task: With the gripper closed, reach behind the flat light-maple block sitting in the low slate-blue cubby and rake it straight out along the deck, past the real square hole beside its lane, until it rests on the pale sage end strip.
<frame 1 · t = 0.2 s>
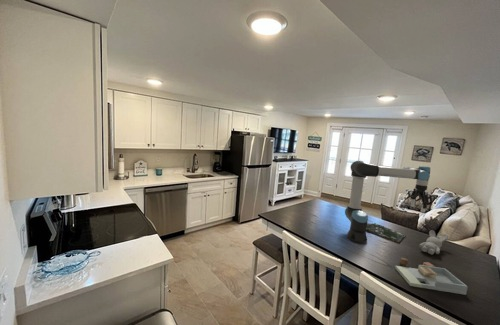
hand: (417, 209, 170), 28 cm above the table, fingers open, 13 cm apart
maple block: (426, 274, 124), point 2 cm above the table, touching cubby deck
terracotta block: (427, 269, 133), on the table
walnut dowel: (403, 266, 134), on the table
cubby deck: (425, 280, 122), on the table
toy: (432, 249, 160), on the table
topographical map: (381, 232, 187), on the table
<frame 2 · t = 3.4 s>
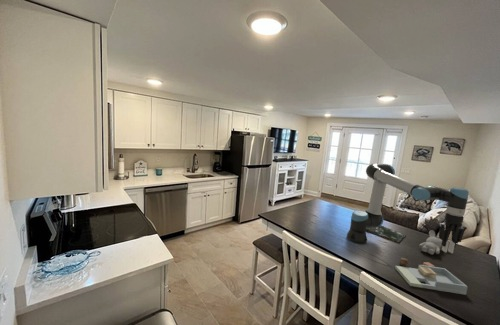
hand: (447, 251, 121), 19 cm above the table, fingers open, 3 cm apart
nothing on the table moved.
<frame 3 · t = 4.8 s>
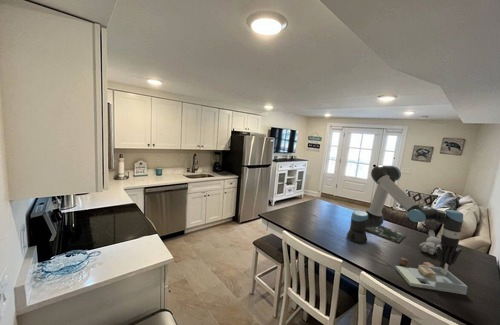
hand: (443, 273, 122), 5 cm above the table, fingers closed
nothing on the table moved.
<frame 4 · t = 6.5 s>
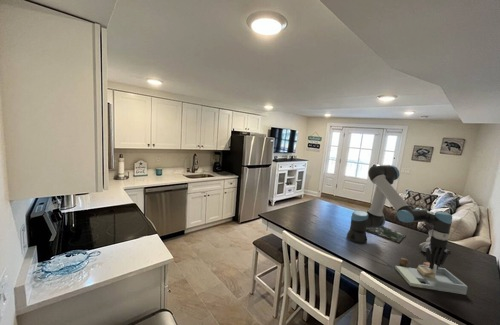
hand: (432, 273, 124), 3 cm above the table, fingers closed
maple block: (425, 274, 124), point 2 cm above the table, touching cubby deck, gripper
everything else where it was.
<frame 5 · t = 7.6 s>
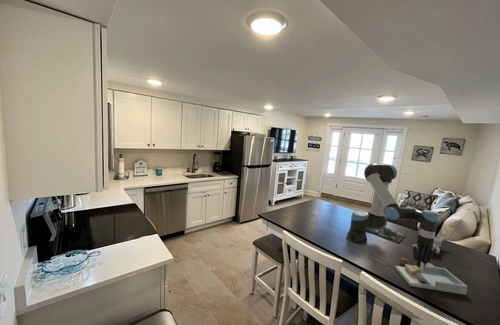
hand: (419, 271, 125), 3 cm above the table, fingers closed
maple block: (412, 272, 125), point 2 cm above the table, touching gripper
everything else where it was.
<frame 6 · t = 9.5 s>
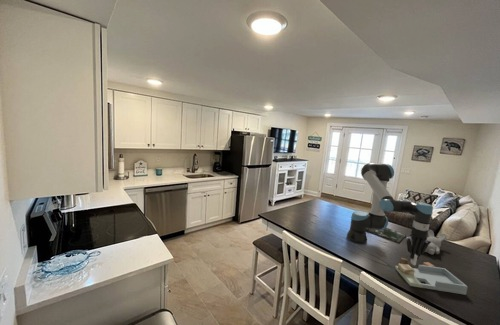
hand: (413, 263, 125), 7 cm above the table, fingers closed
maple block: (405, 271, 126), point 2 cm above the table, touching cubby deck
everything else where it was.
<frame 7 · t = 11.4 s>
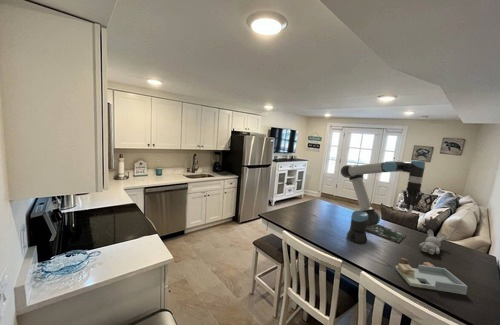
hand: (409, 213, 146), 31 cm above the table, fingers closed
nothing on the table moved.
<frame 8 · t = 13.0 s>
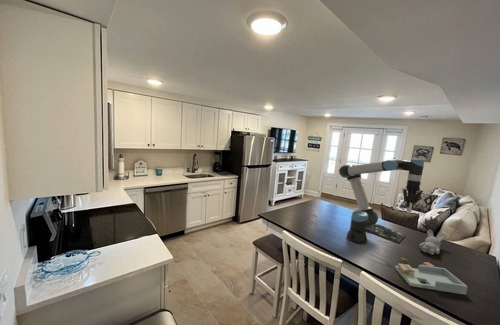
hand: (408, 211, 148), 32 cm above the table, fingers closed
nothing on the table moved.
at the end: maple block inside the target area on the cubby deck (0.5 cm from its centre), point 2.0 cm above the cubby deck's base; maple block tilted 1° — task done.
